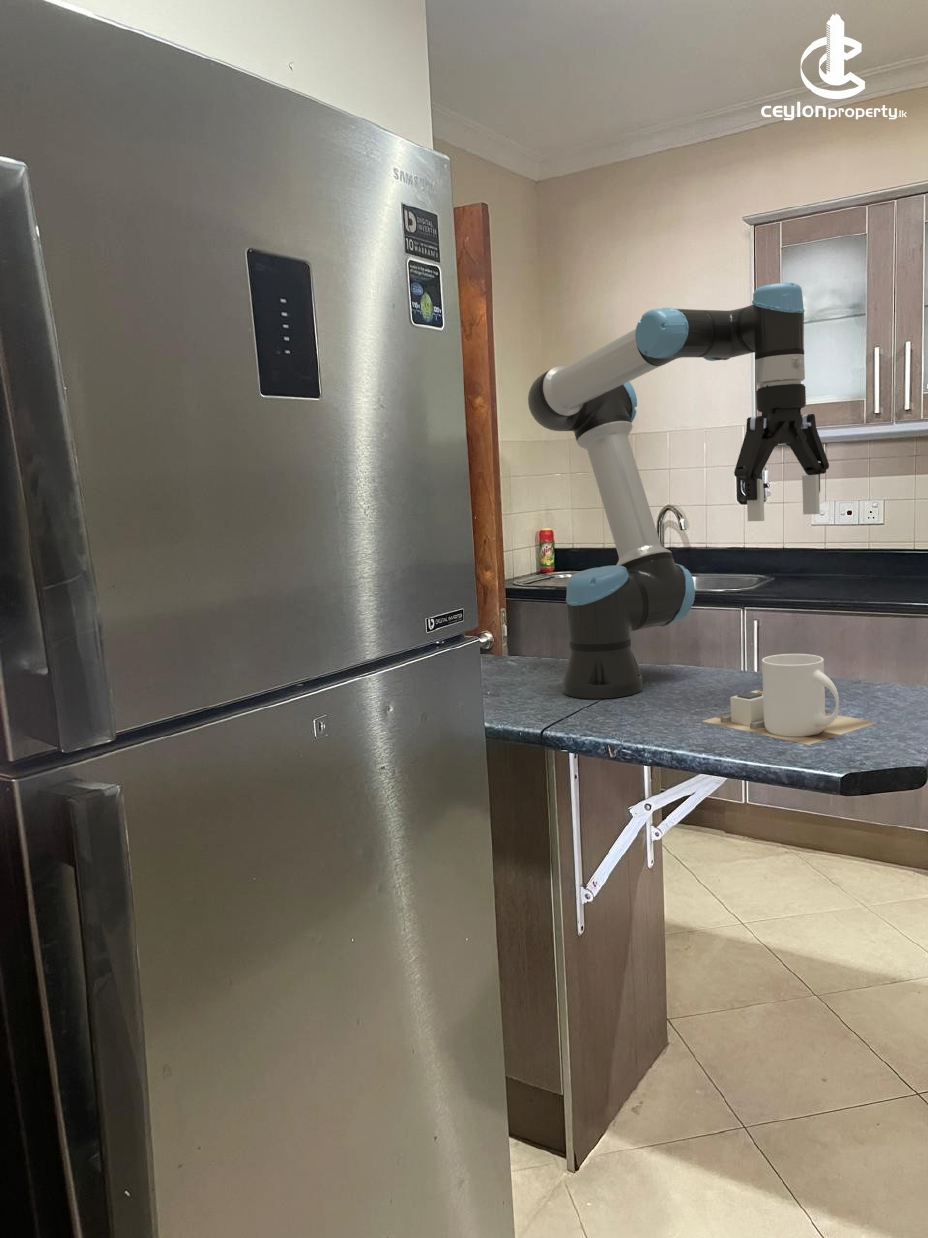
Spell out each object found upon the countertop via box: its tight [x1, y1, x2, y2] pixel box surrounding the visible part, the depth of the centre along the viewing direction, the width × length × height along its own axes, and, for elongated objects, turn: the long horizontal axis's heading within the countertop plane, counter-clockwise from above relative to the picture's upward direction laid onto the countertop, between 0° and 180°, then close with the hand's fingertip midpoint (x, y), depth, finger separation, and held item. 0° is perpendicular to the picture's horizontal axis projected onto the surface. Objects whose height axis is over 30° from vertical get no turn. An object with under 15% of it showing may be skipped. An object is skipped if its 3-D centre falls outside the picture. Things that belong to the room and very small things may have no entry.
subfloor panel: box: [701, 712, 879, 746], centre depth 143 cm, size 20×16×2 cm
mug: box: [761, 653, 840, 737], centre depth 137 cm, size 9×12×11 cm
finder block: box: [729, 690, 764, 726], centre depth 145 cm, size 4×6×4 cm, turn 123°
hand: (784, 517), depth 153 cm, fingers open, 13 cm apart
